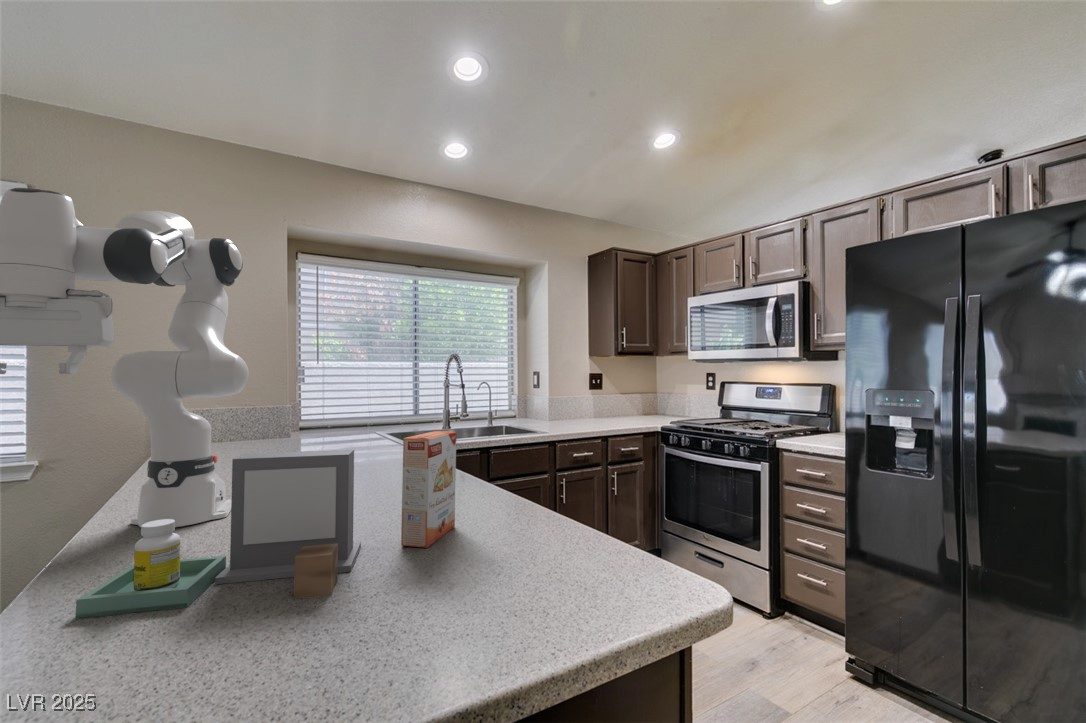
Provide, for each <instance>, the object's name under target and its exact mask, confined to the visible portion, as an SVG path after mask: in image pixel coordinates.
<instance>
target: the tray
mask: <svg viewBox="0 0 1086 723" xmlns="http://www.w3.org/2000/svg"><path fill="white" fill-rule="evenodd" d="M226 567H227V555H221V556H220V555H219V556H210V557H209V556H206V557H197V558H196V557H195V558H185V559H180V581H179V583H178V585H176V586H175V587H173V588H166V589H156V590H145V591H135V592H134V563H133V564H131V565H130V566H128V567H127V568H126V569H124V570H122V571H121V572H119V573H118V574H116V575H114V576H113V577H111V578H109V579H107V580H106V581H104V582H103V583H101V584H100V585H98V586H96V587H95V588H93V589H92V590H90V591H88V592H86V593H85V594H83V595H81V596H80V597H79V598H77V599H75V620H76V619H77V620H78V619H85V618H87V619H89V618H95V617H107V616H115V615H124V614H125V615H126V614H136V613H142V612H143V613H144V612H145V613H146V612H155V611H162V610H163V611H164V610H172V609H173V610H174V609H183V608H188V607H189V606H191V604H192V603H193V602H195V600H197V599H198V598H199V597H200V596H201V595H202V594H203V593H204V592H205V591H206V590H207V589H208V588H209V587H210V586H212V585H213V584H214V583H215V577H216V576H217V575H219V574H220V573H221V572H222V571H223V570H224V569H225V568H226Z"/></svg>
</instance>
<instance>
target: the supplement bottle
mask: <svg viewBox="0 0 1086 723" xmlns="http://www.w3.org/2000/svg"><path fill="white" fill-rule="evenodd" d="M175 528H176V527H175V520H173V519H162V520H155V521H151V522H147V523H145V524H143V525H142V526H141V527H140V534H141V536H142V538H140V539H139V540H138V541H136V543H135V544H134V552H133V553H134V560H133V561H134V563H133V564H134V592H135V591H145V590H156V589H166V588H173V587H175V586H176V585H178V583H179V581H180V560H181V536H180V535H179V533H176V532H174V531H175V530H176V529H175Z"/></svg>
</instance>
